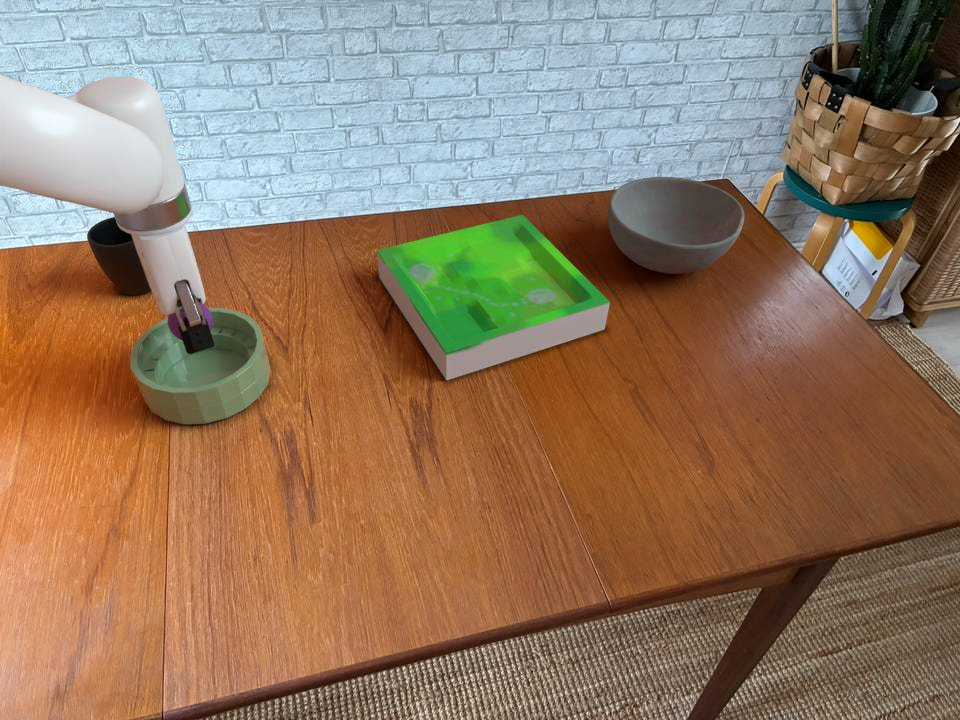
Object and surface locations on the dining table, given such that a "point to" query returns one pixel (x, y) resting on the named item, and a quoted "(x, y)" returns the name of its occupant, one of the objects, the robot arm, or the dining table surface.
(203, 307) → the ball
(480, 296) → the tray
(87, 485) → the dining table surface
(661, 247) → the bowl
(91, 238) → the mug
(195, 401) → the green bowl
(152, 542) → the dining table surface
